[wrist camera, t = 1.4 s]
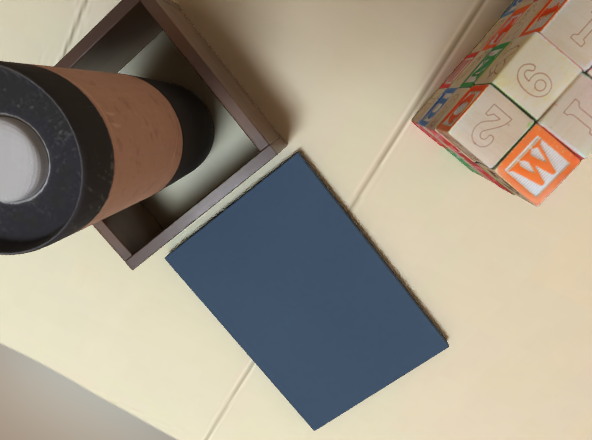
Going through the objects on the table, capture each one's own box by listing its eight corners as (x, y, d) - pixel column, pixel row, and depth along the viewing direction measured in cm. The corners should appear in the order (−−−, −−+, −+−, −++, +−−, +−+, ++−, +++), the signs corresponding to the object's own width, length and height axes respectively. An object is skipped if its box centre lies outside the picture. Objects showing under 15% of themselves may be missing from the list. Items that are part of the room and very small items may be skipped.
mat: (168, 254, 40) (164, 258, 39) (298, 151, 37) (297, 152, 36) (314, 424, 43) (314, 431, 42) (447, 340, 40) (449, 346, 39)
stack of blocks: (631, -145, 30) (822, -303, 19) (701, -80, 31) (929, -193, 19) (408, 122, 36) (445, 133, 24) (471, 174, 36) (538, 210, 24)
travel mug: (193, 195, 38) (48, 291, 19) (108, 151, 38) (-128, 203, 19) (233, 109, 36) (117, 118, 17) (144, 61, 36) (-79, 16, 17)
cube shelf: (55, 116, 38) (-2, 119, 31) (175, 2, 35) (140, -19, 29) (164, 243, 40) (132, 270, 33) (287, 145, 37) (277, 154, 30)
